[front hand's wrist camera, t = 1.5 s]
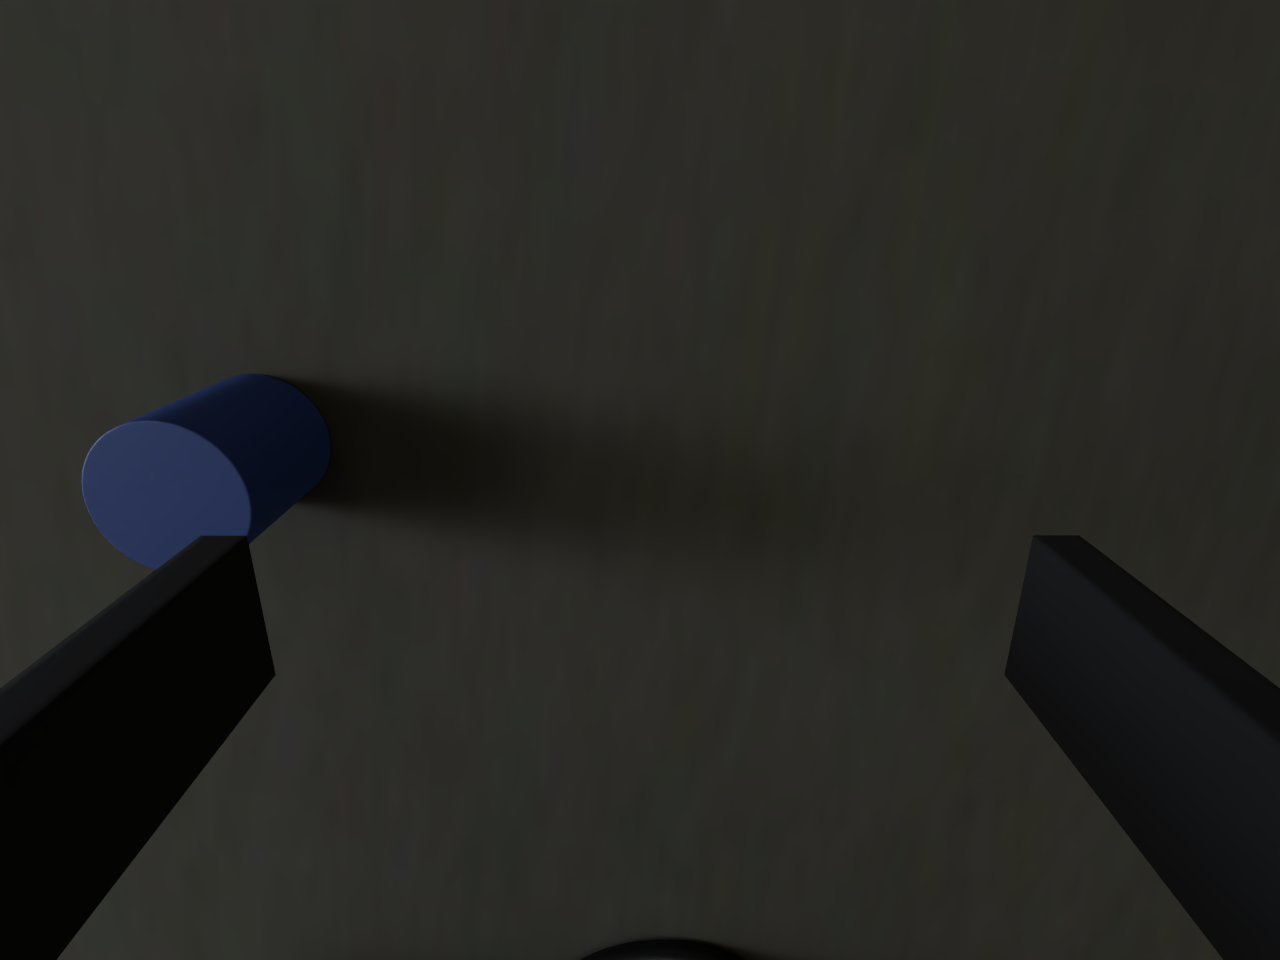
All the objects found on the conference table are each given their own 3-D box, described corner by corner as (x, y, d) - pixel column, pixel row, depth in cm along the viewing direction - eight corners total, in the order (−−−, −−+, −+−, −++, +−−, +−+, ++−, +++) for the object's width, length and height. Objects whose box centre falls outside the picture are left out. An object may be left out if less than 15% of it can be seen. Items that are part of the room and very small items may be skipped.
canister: (336, 390, 31) (255, 441, 25) (325, 512, 33) (247, 589, 26) (198, 359, 31) (78, 403, 24) (195, 485, 33) (83, 556, 26)
